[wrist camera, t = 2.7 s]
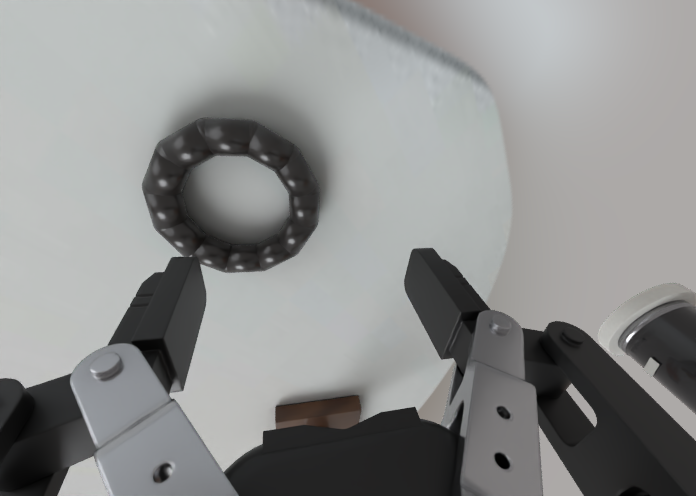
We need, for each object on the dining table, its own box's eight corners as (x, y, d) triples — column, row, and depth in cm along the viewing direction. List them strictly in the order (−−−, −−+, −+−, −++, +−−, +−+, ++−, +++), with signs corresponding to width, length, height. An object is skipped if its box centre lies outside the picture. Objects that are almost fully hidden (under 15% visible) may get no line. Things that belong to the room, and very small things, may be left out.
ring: (320, 121, 15) (324, 128, 13) (315, 258, 19) (317, 274, 18) (129, 109, 13) (112, 116, 12) (173, 264, 18) (164, 281, 16)
